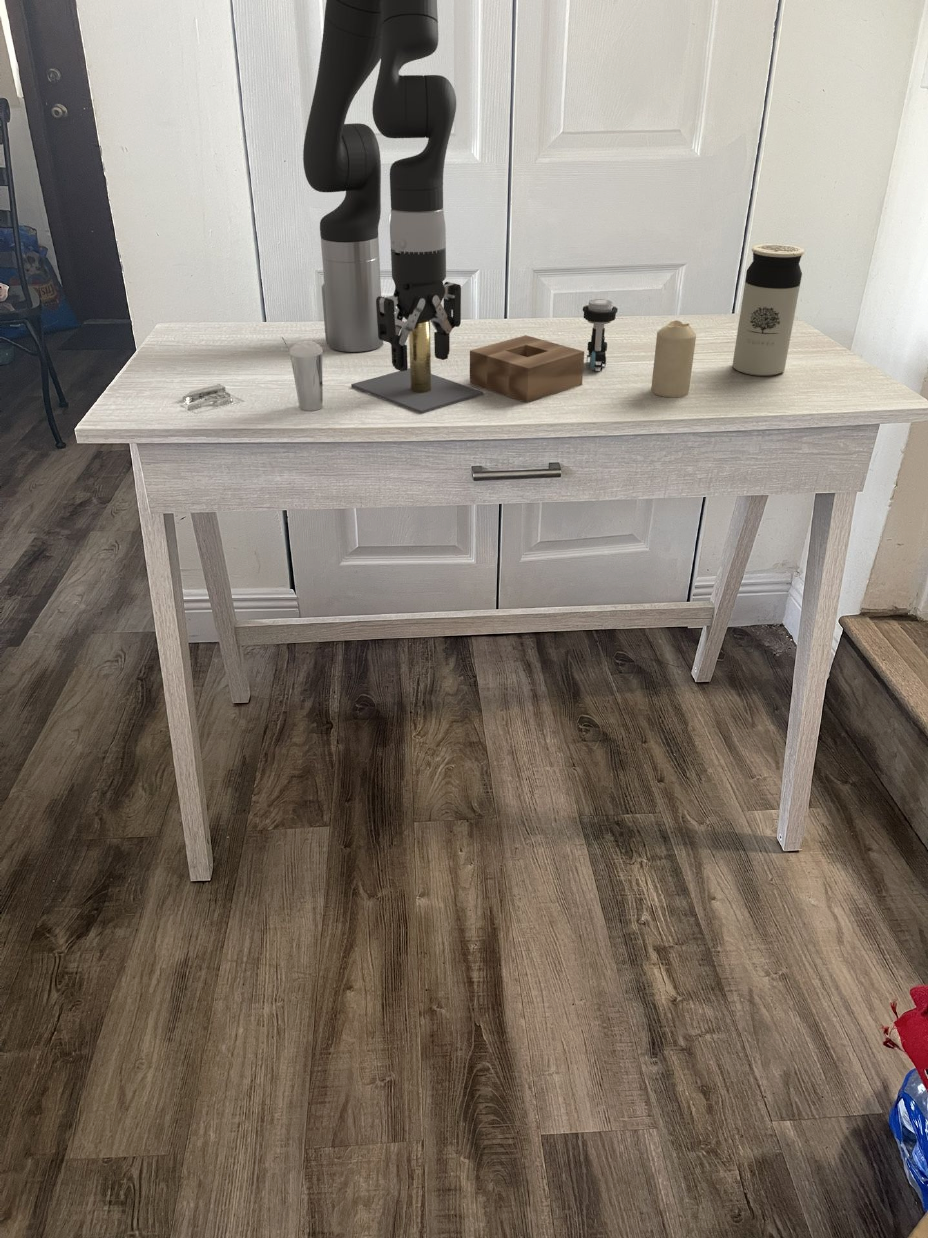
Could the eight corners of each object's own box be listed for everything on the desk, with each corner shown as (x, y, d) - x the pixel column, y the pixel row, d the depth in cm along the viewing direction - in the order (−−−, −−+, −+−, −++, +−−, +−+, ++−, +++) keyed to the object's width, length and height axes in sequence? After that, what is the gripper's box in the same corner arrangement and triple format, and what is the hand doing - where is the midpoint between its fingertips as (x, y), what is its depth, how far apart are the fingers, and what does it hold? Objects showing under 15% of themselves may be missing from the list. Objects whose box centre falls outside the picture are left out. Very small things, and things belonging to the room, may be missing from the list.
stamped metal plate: (221, 393, 141) (220, 383, 140) (245, 405, 136) (244, 395, 136) (172, 405, 136) (170, 395, 135) (196, 417, 132) (194, 407, 131)
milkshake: (290, 402, 135) (283, 332, 130) (327, 401, 136) (322, 331, 130) (287, 413, 132) (280, 341, 126) (326, 412, 132) (320, 340, 127)
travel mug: (743, 358, 153) (761, 241, 144) (791, 367, 149) (813, 247, 140) (724, 370, 148) (742, 249, 138) (773, 380, 144) (795, 256, 134)
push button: (614, 374, 146) (619, 308, 141) (579, 373, 147) (584, 307, 141) (611, 361, 152) (617, 297, 147) (578, 360, 152) (582, 297, 147)
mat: (351, 386, 141) (351, 384, 141) (412, 369, 148) (412, 367, 148) (421, 413, 131) (421, 410, 131) (483, 394, 138) (483, 391, 138)
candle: (648, 385, 142) (655, 317, 137) (685, 385, 142) (694, 318, 136) (653, 397, 137) (661, 328, 132) (691, 397, 137) (700, 328, 132)
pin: (406, 389, 139) (404, 320, 134) (422, 384, 141) (420, 316, 136) (419, 394, 137) (418, 324, 132) (435, 389, 139) (434, 320, 134)
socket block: (469, 383, 143) (469, 350, 140) (524, 366, 150) (525, 335, 147) (527, 402, 135) (528, 368, 133) (582, 384, 142) (584, 351, 140)
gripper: (438, 233, 135) (440, 349, 144) (359, 247, 126) (366, 368, 135) (475, 240, 130) (474, 359, 139) (395, 255, 122) (400, 380, 131)
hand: (421, 363), depth 137 cm, fingers open, 7 cm apart
